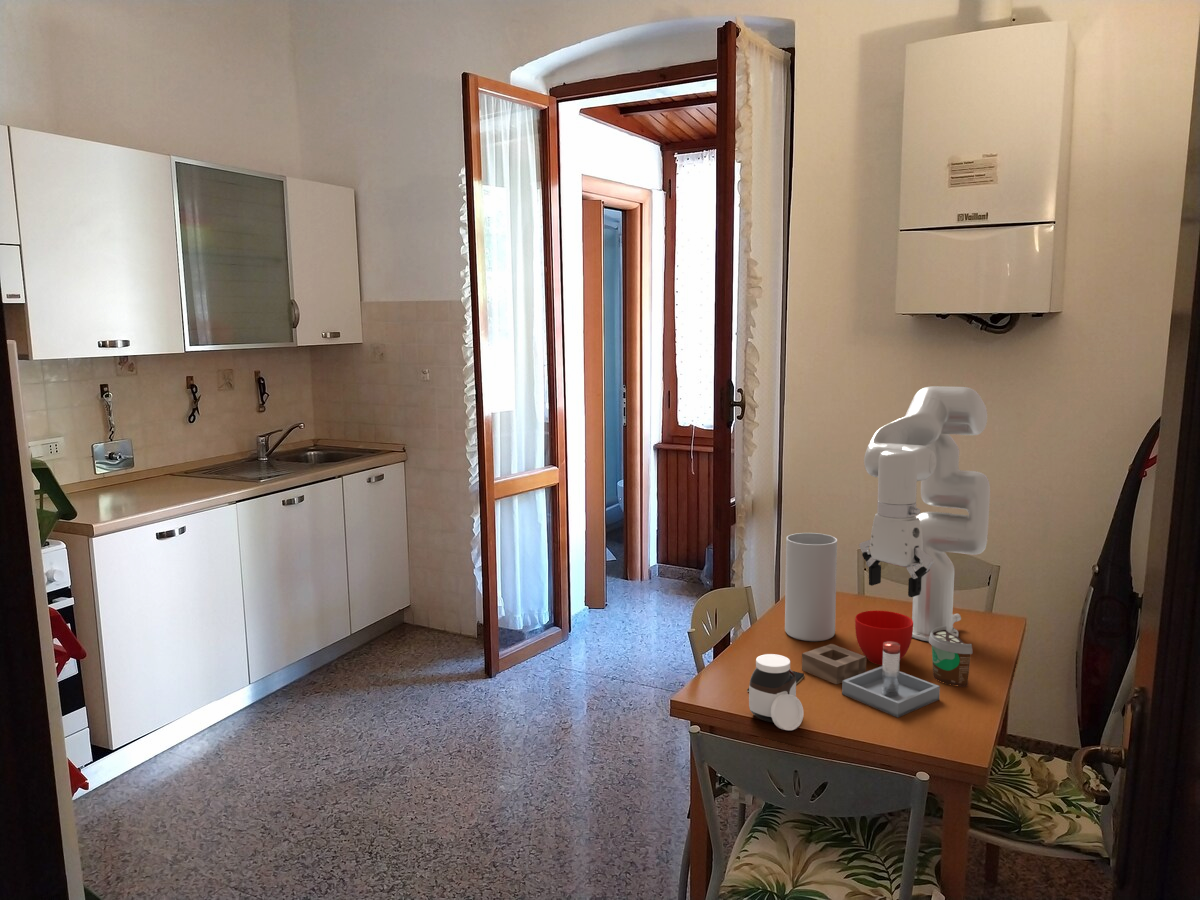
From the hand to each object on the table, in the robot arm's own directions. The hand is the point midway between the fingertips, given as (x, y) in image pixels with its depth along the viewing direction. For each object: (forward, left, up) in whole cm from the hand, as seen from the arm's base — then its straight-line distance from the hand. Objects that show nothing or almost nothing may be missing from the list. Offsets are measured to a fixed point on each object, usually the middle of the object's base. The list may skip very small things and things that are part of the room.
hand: (894, 589), depth 179 cm
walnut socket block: (-1, -16, -24) cm, 28 cm away
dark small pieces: (+15, -19, -24) cm, 34 cm away
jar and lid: (+27, -7, -24) cm, 36 cm away
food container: (-17, +1, -24) cm, 29 cm away
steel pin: (0, 0, -23) cm, 23 cm away
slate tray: (0, 0, -24) cm, 24 cm away
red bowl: (-17, -14, -24) cm, 32 cm away
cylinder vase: (-15, -36, -24) cm, 46 cm away
